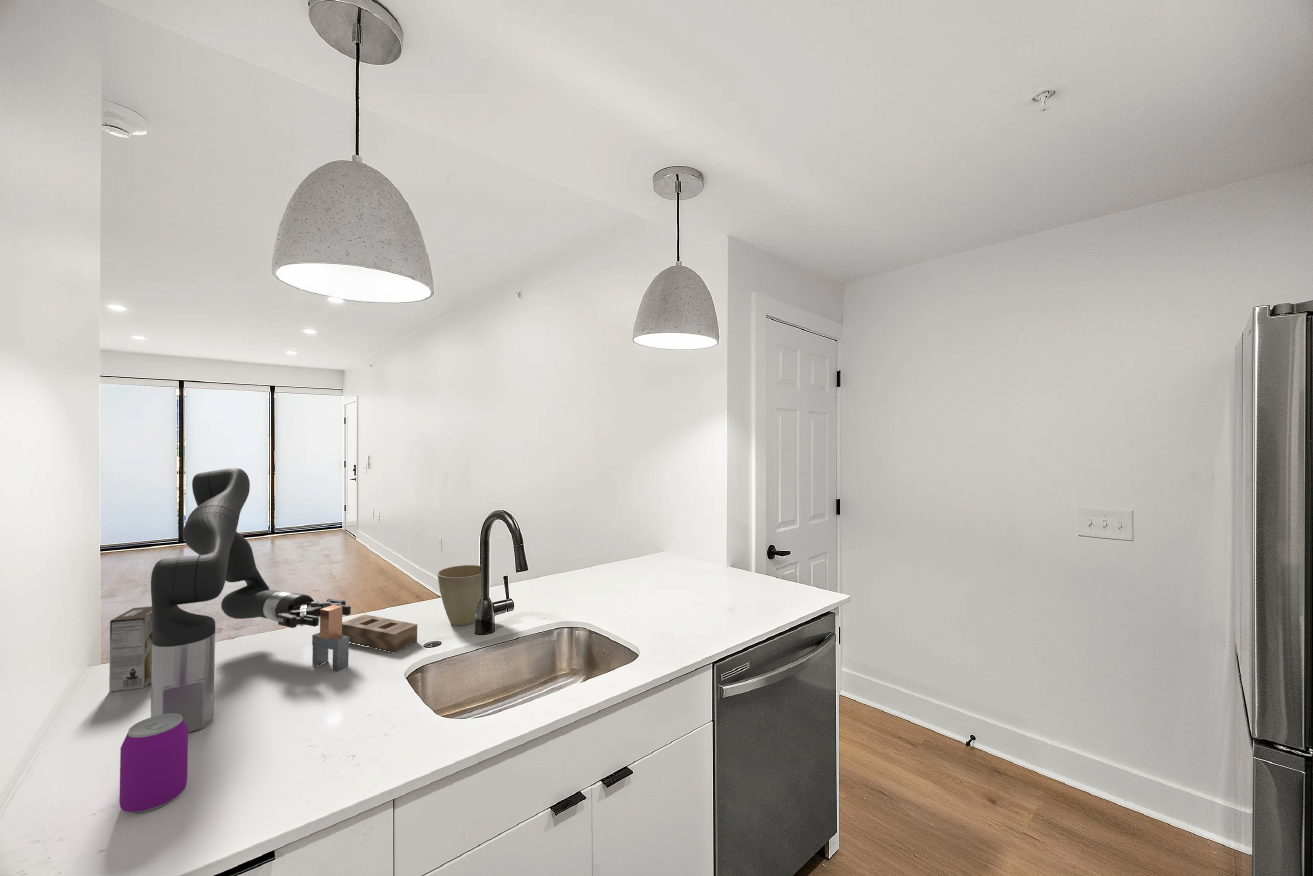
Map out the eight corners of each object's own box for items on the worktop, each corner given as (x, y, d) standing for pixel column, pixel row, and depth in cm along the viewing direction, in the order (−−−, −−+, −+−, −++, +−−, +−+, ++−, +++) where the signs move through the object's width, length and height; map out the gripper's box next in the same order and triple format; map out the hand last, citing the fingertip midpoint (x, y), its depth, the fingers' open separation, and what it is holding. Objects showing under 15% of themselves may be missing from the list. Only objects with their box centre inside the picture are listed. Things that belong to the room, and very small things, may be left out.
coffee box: (131, 674, 122) (133, 607, 122) (166, 670, 125) (167, 604, 125) (107, 693, 114) (109, 620, 114) (145, 688, 116) (146, 617, 116)
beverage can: (104, 813, 78) (106, 734, 78) (160, 780, 86) (162, 708, 86) (147, 820, 77) (148, 740, 77) (200, 786, 85) (201, 713, 85)
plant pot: (451, 612, 169) (452, 563, 169) (494, 614, 168) (495, 566, 168) (426, 629, 154) (427, 576, 154) (474, 632, 153) (475, 578, 153)
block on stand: (349, 666, 129) (351, 608, 129) (336, 672, 126) (337, 612, 126) (324, 659, 132) (325, 603, 132) (310, 665, 129) (311, 607, 129)
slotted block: (417, 642, 145) (417, 624, 145) (393, 653, 137) (393, 634, 137) (364, 631, 152) (364, 614, 152) (339, 641, 144) (339, 623, 144)
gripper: (260, 601, 128) (306, 610, 122) (315, 586, 141) (359, 593, 135) (259, 631, 128) (305, 641, 122) (315, 613, 141) (359, 622, 135)
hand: (334, 616), depth 129 cm, fingers open, 8 cm apart
